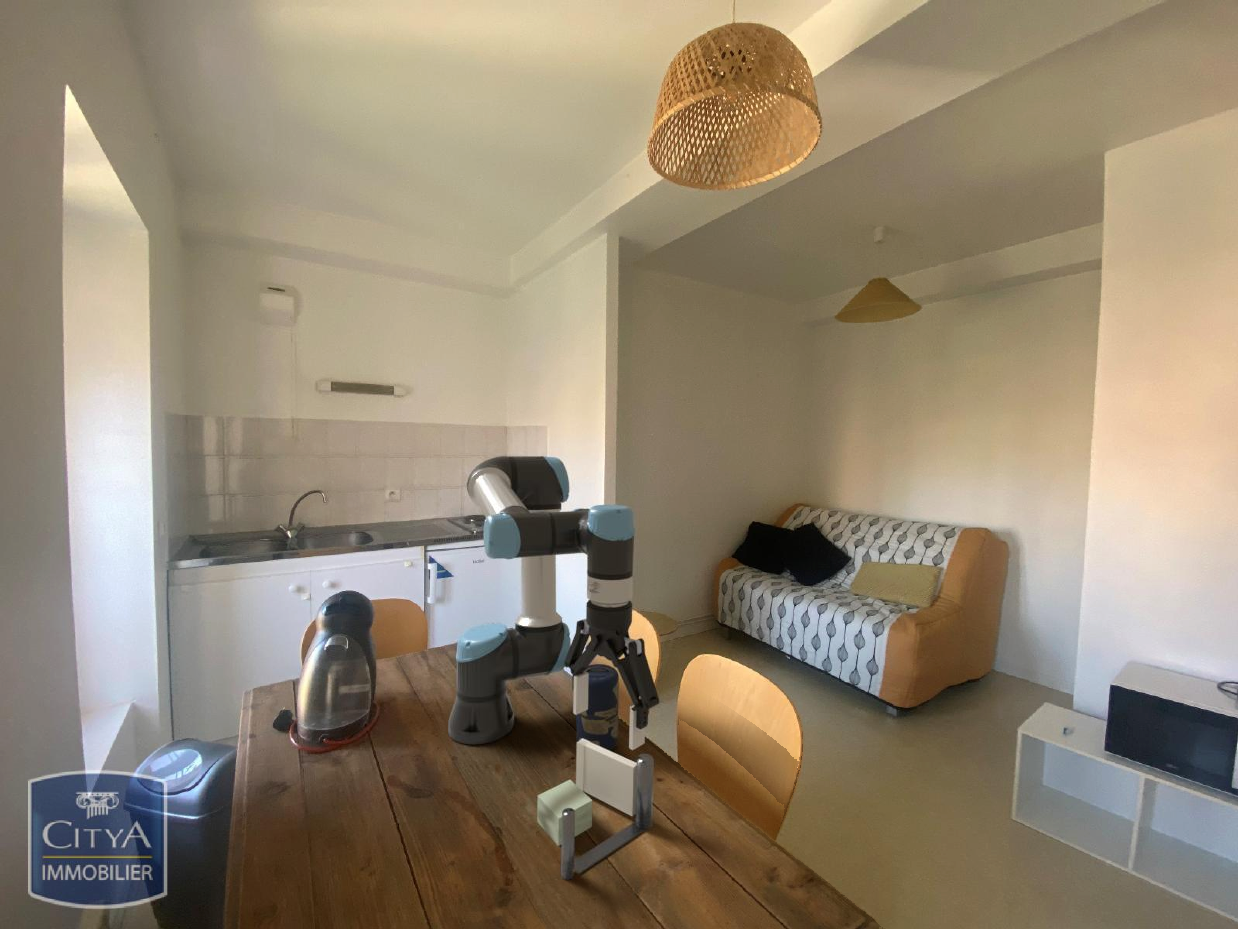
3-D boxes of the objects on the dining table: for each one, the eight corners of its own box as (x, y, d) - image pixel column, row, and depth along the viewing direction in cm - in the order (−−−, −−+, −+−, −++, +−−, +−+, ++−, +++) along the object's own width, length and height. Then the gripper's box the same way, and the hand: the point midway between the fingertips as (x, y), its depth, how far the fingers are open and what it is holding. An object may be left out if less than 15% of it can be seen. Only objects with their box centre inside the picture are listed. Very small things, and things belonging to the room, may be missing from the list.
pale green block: (537, 822, 90) (537, 795, 89) (569, 805, 94) (570, 779, 94) (558, 847, 84) (558, 818, 84) (591, 827, 89) (592, 800, 88)
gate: (637, 811, 91) (638, 763, 91) (631, 817, 90) (632, 768, 89) (581, 782, 99) (582, 738, 98) (575, 787, 97) (576, 742, 97)
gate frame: (556, 871, 79) (558, 797, 79) (644, 815, 92) (645, 751, 91) (567, 884, 77) (569, 808, 76) (655, 825, 89) (657, 759, 89)
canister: (612, 761, 107) (614, 678, 107) (570, 754, 109) (571, 673, 108) (621, 736, 117) (623, 660, 116) (582, 730, 118) (583, 656, 118)
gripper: (545, 588, 88) (543, 706, 89) (650, 626, 70) (647, 774, 71) (578, 580, 93) (576, 692, 94) (684, 614, 75) (680, 752, 76)
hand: (607, 727), depth 82 cm, fingers open, 13 cm apart
